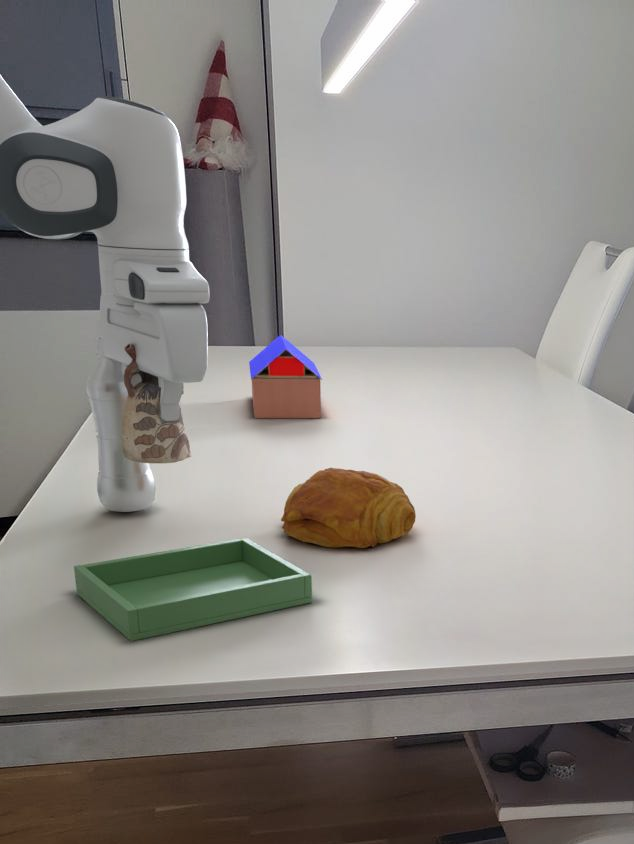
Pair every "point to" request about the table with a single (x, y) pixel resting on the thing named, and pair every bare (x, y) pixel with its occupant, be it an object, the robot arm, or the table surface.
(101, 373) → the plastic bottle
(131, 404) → the figurine
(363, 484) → the croissant
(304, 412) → the house
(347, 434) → the table surface
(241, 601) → the green tray
